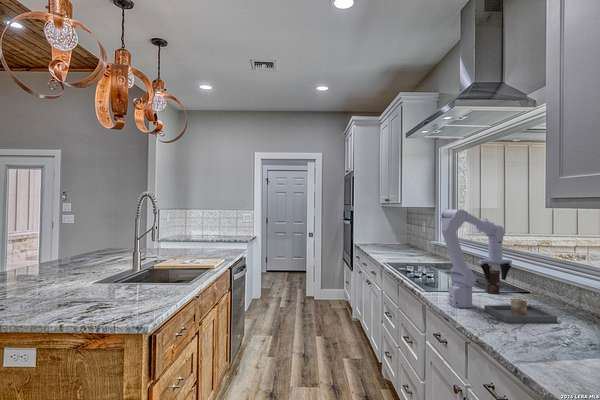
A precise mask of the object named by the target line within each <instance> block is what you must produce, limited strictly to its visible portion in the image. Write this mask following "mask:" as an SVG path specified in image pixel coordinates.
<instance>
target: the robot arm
mask: <svg viewBox="0 0 600 400" xmlns="http://www.w3.org/2000/svg"><path fill="white" fill-rule="evenodd" d="M439 218H440V221H441V232H442V236H443V239H444V242H445V245H446V249H447V252H448V254H449V255H448V256H449V258H450V260H451V263H452V267H451V268H450V270H449V271H450V280H451V282H453V285H450V286H449V287H448V301H447V303H448V304H449V305H451V306H452V307H454V308H477V306H476V305H474V304H473V287H474V286H475V285H476V283H477V276H476V274H475V273H474V272H473V270H472V268H471V267H470V266H468V264H467V263H466V259H465V255H464V254H463V250H462V247H461V244H460V242H459V241H460V240H459V238H458V235H457V231H458V230H459V229H460V228H461V227H462V225H463V224H464V223H465V222H466V223H468V224H471V225H473V226H475V229H476V230H477V231H479V232H482V233H484V234H485V236H487V237H488V247H487V249H488V259H479V260H478V264H479V266H480V267H481V270H482V272H483V275H484V279H485V278H486V280H489V279H490V269H491V268H492V267H491V266H490V265H500V266H499V267H500V272H501V274H500V279H501V280H503V281H506V279H507V276H508V273H509V270H511V267H512V265H513V261H512V260H511V259H503V241H504V237H505V236H506V231H505V228H504V227H503V226H501V225H497V224H495V222H491V221H490V220H488V219H487V218H486V217H485V218H477V217H476V216H475V215H473V214H471V213H469V212H468V211H467V210H464V209H463V208H460V209H450V208H446V209H443V211H442V212H441V214H440V216H439Z"/></svg>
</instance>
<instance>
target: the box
mask: <svg viewBox="0 0 600 400" xmlns="http://www.w3.org/2000/svg"><path fill="white" fill-rule="evenodd" d="M500 272H501V270H499V269H496V268H490V279H489V280H486V278H485V277H484V292H485V293H486V292H487V293H486V294H500V286H501V285H500V284H501V283H500V282H501V281H500V279H501V274H500Z"/></svg>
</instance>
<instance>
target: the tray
mask: <svg viewBox="0 0 600 400" xmlns="http://www.w3.org/2000/svg"><path fill="white" fill-rule="evenodd" d="M484 312H485V313H487V314H489V315H491V316H493V317H494V318H496V319H498V320H499V321H501V322H503V323H506V324H546V323H547V324H548V323H549V324H552V323H553V324H555V323H556V324H557V323H558V316H557V315H555V314H553V313H551V312H548V311H545V310H543V309H541V308H539V307H535V306H534V305H532V304H527V316H516V315H514V314H512V313H511V304H505V305H504V304H492V305H491V304H490V305H489V304H484Z"/></svg>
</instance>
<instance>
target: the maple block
mask: <svg viewBox="0 0 600 400" xmlns="http://www.w3.org/2000/svg"><path fill="white" fill-rule="evenodd" d="M527 303H528V302H527V300H525V299H522V298H510V305H511V313H512V314H514V315H516V316H527V305H528V304H527Z"/></svg>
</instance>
